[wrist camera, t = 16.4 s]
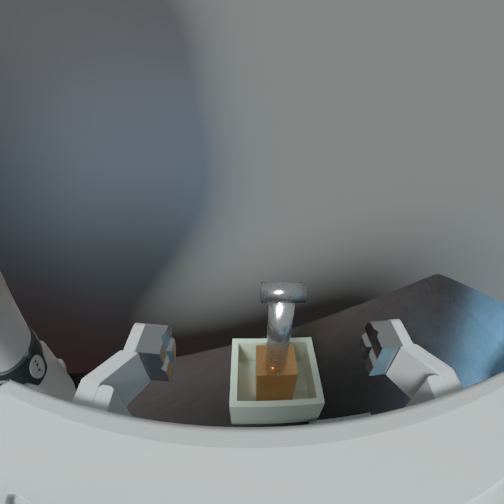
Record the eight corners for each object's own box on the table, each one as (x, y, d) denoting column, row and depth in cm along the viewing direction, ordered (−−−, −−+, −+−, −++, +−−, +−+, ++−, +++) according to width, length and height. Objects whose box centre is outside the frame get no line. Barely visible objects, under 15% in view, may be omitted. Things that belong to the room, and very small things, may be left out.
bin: (231, 424, 36) (229, 406, 33) (234, 360, 47) (232, 338, 44) (316, 420, 36) (324, 402, 33) (306, 358, 47) (311, 336, 44)
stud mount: (315, 481, 27) (327, 468, 23) (307, 424, 36) (316, 401, 32) (380, 468, 27) (402, 451, 23) (367, 415, 36) (384, 391, 32)
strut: (256, 401, 39) (259, 300, 28) (255, 374, 44) (257, 270, 33) (291, 400, 39) (313, 299, 28) (288, 373, 44) (304, 269, 33)
